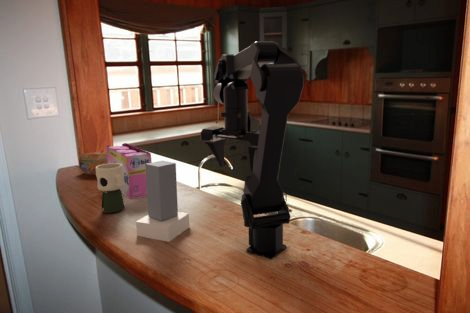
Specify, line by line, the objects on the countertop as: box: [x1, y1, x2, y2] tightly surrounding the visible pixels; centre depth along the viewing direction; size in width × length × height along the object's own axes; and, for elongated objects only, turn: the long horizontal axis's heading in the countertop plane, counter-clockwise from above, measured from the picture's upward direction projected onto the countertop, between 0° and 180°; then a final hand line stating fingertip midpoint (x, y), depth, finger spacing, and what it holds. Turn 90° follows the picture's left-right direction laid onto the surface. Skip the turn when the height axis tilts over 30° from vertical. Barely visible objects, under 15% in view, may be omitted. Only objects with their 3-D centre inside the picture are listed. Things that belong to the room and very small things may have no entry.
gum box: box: [105, 142, 153, 200], centre depth 126 cm, size 24×8×14 cm, turn 35°
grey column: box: [145, 160, 179, 221], centre depth 90 cm, size 5×5×13 cm
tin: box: [78, 152, 108, 176], centre depth 146 cm, size 15×3×8 cm, turn 73°
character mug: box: [95, 163, 126, 214], centre depth 105 cm, size 11×7×13 cm, turn 45°
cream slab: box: [135, 211, 191, 243], centre depth 91 cm, size 9×9×4 cm
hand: (237, 169), depth 95 cm, fingers open, 9 cm apart
